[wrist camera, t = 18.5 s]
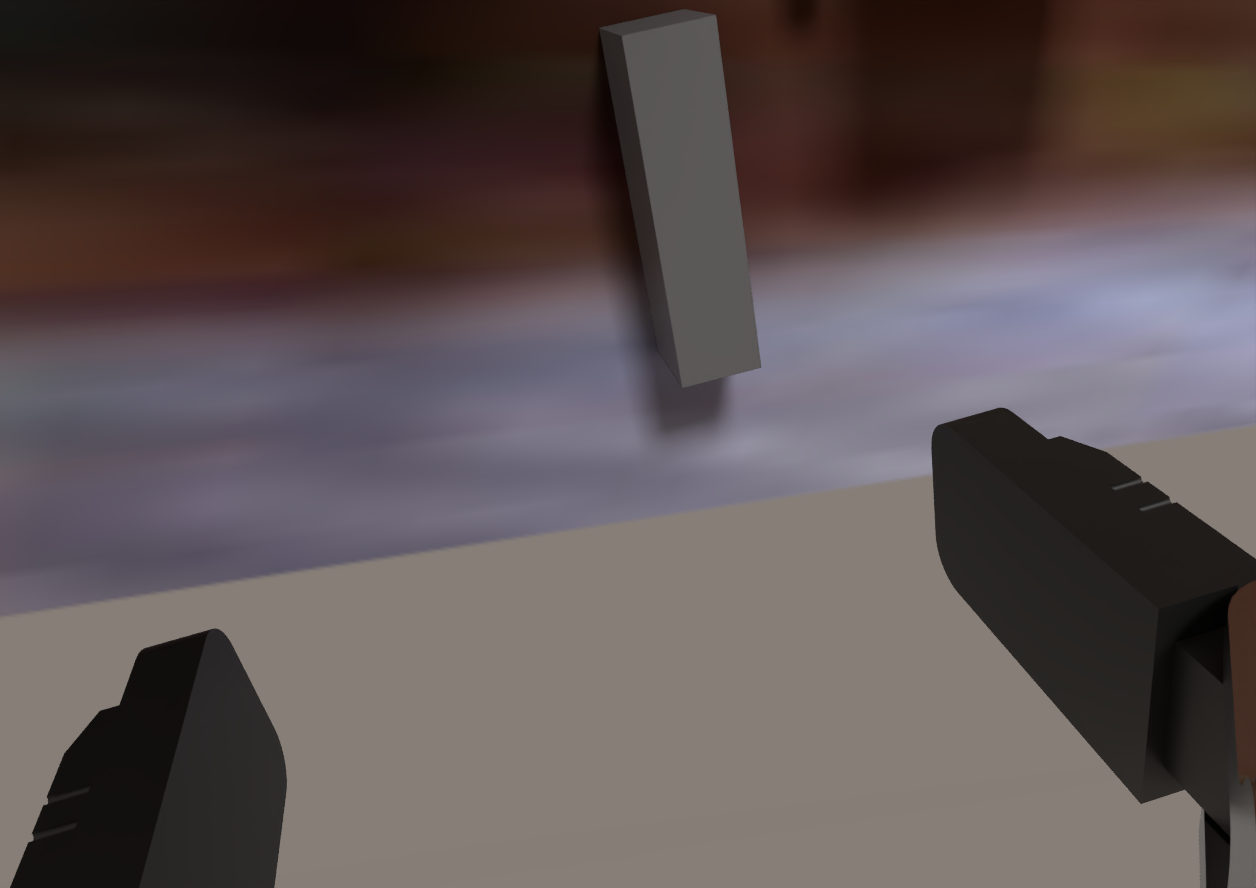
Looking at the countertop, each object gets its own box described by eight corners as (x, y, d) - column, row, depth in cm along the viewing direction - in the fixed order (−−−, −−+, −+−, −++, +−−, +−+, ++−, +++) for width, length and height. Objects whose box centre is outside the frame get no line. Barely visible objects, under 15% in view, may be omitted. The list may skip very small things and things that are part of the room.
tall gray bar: (597, 27, 33) (621, 35, 30) (682, 8, 34) (715, 15, 30) (656, 349, 39) (682, 388, 36) (728, 330, 39) (761, 367, 36)
